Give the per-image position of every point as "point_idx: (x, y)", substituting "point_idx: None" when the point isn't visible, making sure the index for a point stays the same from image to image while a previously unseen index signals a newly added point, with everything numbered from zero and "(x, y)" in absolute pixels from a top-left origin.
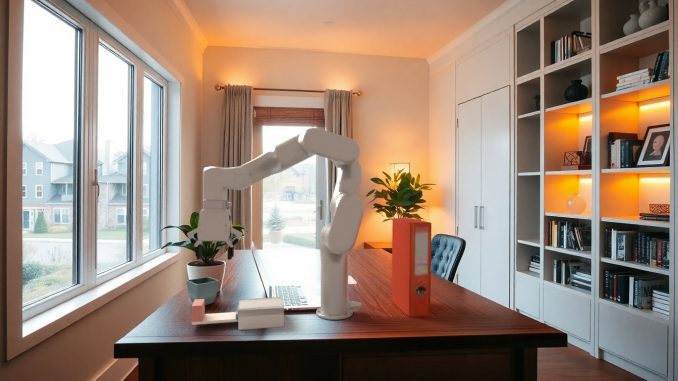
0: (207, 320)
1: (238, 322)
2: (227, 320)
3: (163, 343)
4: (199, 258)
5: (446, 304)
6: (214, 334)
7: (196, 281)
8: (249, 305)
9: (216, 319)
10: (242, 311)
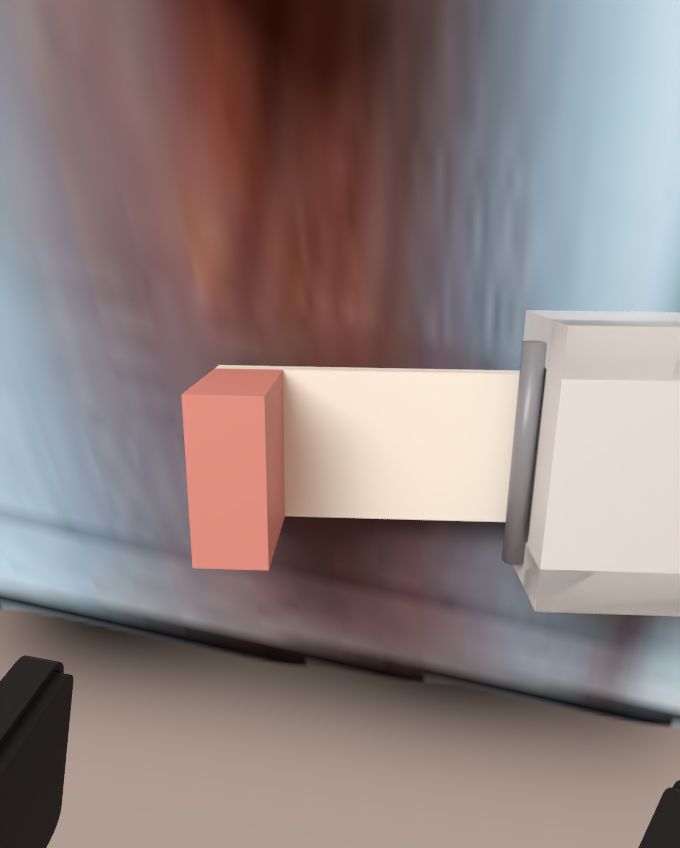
0: (318, 506)
1: (514, 566)
2: (446, 517)
3: (125, 629)
4: (54, 822)
5: None
6: (369, 576)
7: None
8: (630, 516)
9: (375, 501)
10: (562, 607)
